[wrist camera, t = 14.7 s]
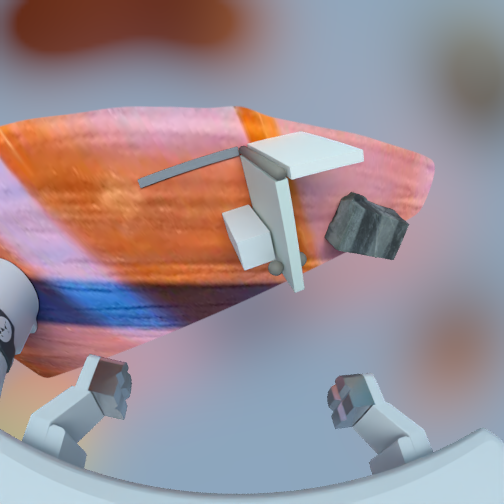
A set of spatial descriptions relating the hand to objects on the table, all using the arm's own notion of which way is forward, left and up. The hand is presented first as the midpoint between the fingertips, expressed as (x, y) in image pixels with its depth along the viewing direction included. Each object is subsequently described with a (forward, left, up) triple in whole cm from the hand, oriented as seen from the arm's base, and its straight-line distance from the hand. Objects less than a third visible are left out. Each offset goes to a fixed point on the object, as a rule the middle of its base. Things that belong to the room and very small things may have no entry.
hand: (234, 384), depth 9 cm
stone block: (+27, -16, -31) cm, 44 cm away
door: (+8, -6, -30) cm, 31 cm away
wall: (+6, +1, -30) cm, 31 cm away
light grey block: (+6, -9, -30) cm, 32 cm away
